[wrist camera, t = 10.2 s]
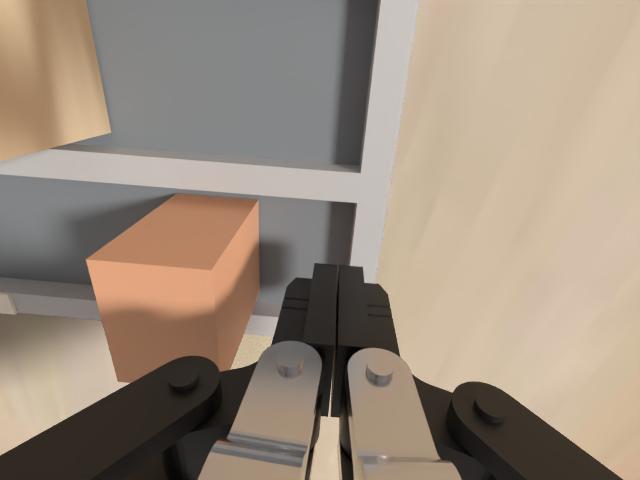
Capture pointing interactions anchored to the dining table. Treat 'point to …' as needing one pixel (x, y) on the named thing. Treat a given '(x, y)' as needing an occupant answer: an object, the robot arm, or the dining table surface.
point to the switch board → (219, 141)
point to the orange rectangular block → (179, 283)
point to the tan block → (48, 77)
